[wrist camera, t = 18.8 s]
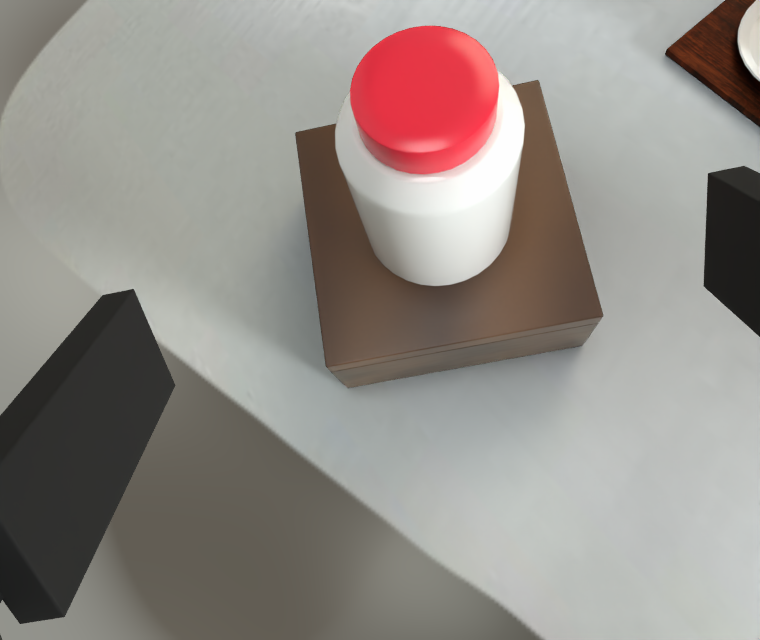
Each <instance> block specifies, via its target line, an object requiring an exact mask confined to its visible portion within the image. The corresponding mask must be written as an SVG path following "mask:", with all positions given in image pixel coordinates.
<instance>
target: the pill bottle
mask: <svg viewBox="0 0 760 640" xmlns="http://www.w3.org/2000/svg"><path fill="white" fill-rule="evenodd" d="M524 131H525V123H524V116H523V109H522V106H521V104H520V101H519V99H518V96H517V93H516V91H515V90H514V88H513V87H512V85H511V84H510V82H509V81H508V79H507V78H506V77H505V76H504V75H503V74H502V73H501V72H500V71H498V70H497V69H496V67H495V64H494V61H493V59H492V58H491V56H490V55H489V53H488V52H487V50H486V49H485V48H484V47H483V46H482V45H481V44H480V43H479V42H478V41H477V40H475V39H473V38H472V37H470V36H469V35H467V34H465V33H463V32H460V31H458V30H455V29H452V28H447V27H441V26H420V27H413V28H409V29H405V30H402V31H399V32H396V33H394V34H392V35H390V36H388V37H386V38H385V39H383V40H382V41H380V42H379V43H378V44H376V45H375V46H374V47H373V48H372V49H371V50H370V51H369V52H368V53H367V54H366V55H365V56H364V57H363V59H362V60H361V62H360V63H359V65H358V66H357V68H356V71H355V73H354V76H353V78H352V83H351V89H350V92H349V93H348V95H347V96H346V98H345V99H344V102H343V104H342V106H341V109H340V111H339V114H338V118H337V123H336V129H335V149H336V153H337V157H338V160H339V164H340V167H341V170H342V173H343V175H344V178H345V181H346V183H347V186H348V188H349V191H350V194H351V196H352V199H353V202H354V204H355V207H356V210H357V212H358V215H359V218H360V220H361V223H362V225H363V228H364V231H365V233H366V236H367V239H368V241H369V244H370V246H371V248H372V249H373V251H374V253H375V255H376V257H377V258H378V259H379V260H380V261H381V263H382V264H383V265H384V266H385V267H386V268H388V269H389V270H390V271H391V272H393V273H394V274H395V275H397V276H399V277H401V278H403V279H405V280H407V281H410V282H413V283H417V284H420V285H429V286H443V285H452V284H455V283H459V282H462V281H465V280H467V279H469V278H471V277H473V276H475V275H477V274H479V273H480V272H482V271H483V270H484V269H486V268H487V267H488V266H489V265H491V263H492V262H493V261H494V260H495V259H496V258H497V257H498V255H499V254H500V253H501V251H502V249H503V247H504V246H505V244H506V242H507V239H508V236H509V233H510V229H511V224H512V217H513V210H514V203H515V197H516V190H517V183H518V177H519V170H520V163H521V156H522V150H523V141H524Z"/></svg>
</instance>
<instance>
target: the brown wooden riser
mask: <svg viewBox="0 0 760 640" xmlns="http://www.w3.org/2000/svg"><path fill="white" fill-rule="evenodd" d="M512 87H513V88H514V90H515V91H516V93H517V96H518V99H519V101H520V104H521V106H522V109H523V116H524V123H525V131H524V141H523V150H522V156H521V163H520V170H519V177H518V183H517V190H516V197H515V203H514V210H513V217H512V224H511V229H510V233H509V236H508V239H507V242H506V244H505V246H504V247H503V249H502V251H501V253H500V254H499V255H498V257H497V258H496V259H495V260H494V261H493V262H492V263H491V265H489V266H488V267H487V268H486V269H484V270H483V271H482V272H480V273H479V274H477V275H475V276H473V277H471V278H469V279H467V280H465V281H462V282H459V283H455V284H452V285H443V286H429V285H420V284H417V283H413V282H410V281H407V280H405V279H403V278H401V277H399V276H397V275H395V274H394V273H393V272H391V271H390V270H389V269H388V268H386V267H385V266H384V265H383V264H382V263H381V261H380V260H379V259H378V258H377V257H376V255H375V253H374V251H373V249H372V248H371V246H370V244H369V241H368V239H367V236H366V233H365V231H364V228H363V225H362V223H361V220H360V218H359V215H358V212H357V210H356V207H355V204H354V202H353V199H352V196H351V194H350V191H349V188H348V186H347V183H346V181H345V178H344V175H343V173H342V170H341V167H340V164H339V160H338V157H337V153H336V149H335V129H336V124H332V125H328V126H323V127H318V128H314V129H309V130H304V131H300V132H296V133H295V136H296V144H297V151H298V159H299V166H300V174H301V182H302V189H303V197H304V204H305V212H306V220H307V227H308V235H309V242H310V250H311V258H312V265H313V273H314V280H315V288H316V296H317V303H318V311H319V318H320V326H321V334H322V341H323V349H324V356H325V364H326V367H327V368H328V369H329V370H330V371H331V372H332V373H333V374H334V375H335V376H336V377H337V378H338V379H339V380H340V381H341V382H342V383H343V384H344V385H345V386H346V387H347V388H350V387H356V386H362V385H367V384H373V383H378V382H384V381H389V380H395V379H400V378H406V377H412V376H417V375H423V374H428V373H434V372H439V371H445V370H450V369H456V368H461V367H467V366H473V365H478V364H484V363H489V362H495V361H500V360H506V359H511V358H517V357H523V356H528V355H534V354H539V353H545V352H550V351H556V350H561V349H567V348H572V347H578V346H582V345H583V344H584V343H585V341H586V340H587V338H588V337H589V336H590V334H591V333H592V331H593V330H594V329H595V327H596V326H597V324H598V322H599V321H600V320H601V318H602V317H603V313H602V309H601V306H600V302H599V298H598V295H597V291H596V287H595V284H594V280H593V276H592V273H591V269H590V265H589V262H588V258H587V255H586V251H585V247H584V244H583V240H582V236H581V233H580V229H579V225H578V222H577V218H576V214H575V211H574V207H573V203H572V200H571V196H570V193H569V189H568V185H567V182H566V178H565V174H564V171H563V167H562V163H561V160H560V156H559V152H558V149H557V145H556V141H555V138H554V134H553V130H552V127H551V123H550V120H549V116H548V112H547V109H546V105H545V101H544V98H543V94H542V90H541V87H540V83H539V81H538V80H536V81H531V82H527V83H522V84H517V85H513V86H512Z"/></svg>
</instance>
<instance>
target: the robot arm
mask: <svg viewBox="0 0 760 640" xmlns="http://www.w3.org/2000/svg"><path fill="white" fill-rule="evenodd" d="M704 287H705V288H706V289H707V290H708V291H710V292H711V293H712V294H713V295H714V296H715V297H716V298H717V299H718V300H720V301H721V302H722V303H723V304H724V305H725V306H726V307H727V308H728V309H730V310H731V311H732V312H733V313H734V314H735V315H736V316H737V317H738V318H740V319H741V320H742V321H743V322H744V323H745V324H746V325H747V326H748V327H750V328H751V329H752V330H753V331H754V332H755V333H756V334H757V335H758V336H760V173H758V172H756V171H754V170H752V169H750V168H748V167H745V166H741V167H737V168H732V169H727V170H722V171H717V172H712V173H708V187H707V214H706V240H705V266H704ZM174 387H175V384H174V381H173V379H172V377H171V374H170V372H169V370H168V368H167V365H166V363H165V360H164V358H163V356H162V354H161V351H160V349H159V347H158V344H157V342H156V340H155V337H154V335H153V333H152V330H151V328H150V326H149V323H148V321H147V319H146V317H145V314H144V312H143V310H142V307H141V305H140V303H139V300H138V298H137V296H136V293H135V291H134V289H131V290H126V291H121V292H116V293H111V294H106V295H102V297H101V298H100V299H99V300H98V301H97V302H96V304H95V305H94V306H93V307H92V308H91V310H90V311H89V312H88V313H87V314H86V315H85V317H84V318H83V319H82V320H81V321H80V322H79V324H78V325H77V326H76V327H75V328H74V330H73V331H72V332H71V333H70V334H69V335H68V337H67V338H66V339H65V340H64V341H63V343H62V344H61V345H60V346H59V347H58V348H57V350H56V351H55V352H54V353H53V354H52V355H51V357H50V358H49V359H48V360H47V361H46V363H45V364H44V365H43V366H42V367H41V368H40V370H39V371H38V372H37V373H36V374H35V376H34V377H33V378H32V379H31V380H30V381H29V383H28V384H27V385H26V386H25V387H24V388H23V390H22V391H21V392H20V393H19V394H18V396H17V397H16V398H15V399H14V400H13V402H12V403H11V404H10V405H9V406H8V408H7V409H6V410H5V411H4V412H3V413H2V414H1V415H0V603H1V601H2V600H3V601H4V602H5V604H6V605H7V607H8V608H9V609H10V611H11V612H12V613H13V615H14V616H15V618H16V619H17V620H18V622H19V623H20V624H23V623H29V622H35V621H41V620H48V619H54V618H60V617H65V615H66V613H67V610H68V608H69V607H70V605H71V602H72V600H73V598H74V596H75V594H76V592H77V590H78V588H79V586H80V583H81V582H82V579H83V577H84V575H85V573H86V571H87V569H88V567H89V565H90V563H91V561H92V559H93V556H94V554H95V552H96V550H97V548H98V546H99V544H100V542H101V540H102V538H103V536H104V533H105V531H106V529H107V527H108V525H109V523H110V521H111V519H112V516H113V515H114V512H115V510H116V508H117V506H118V504H119V502H120V500H121V498H122V496H123V494H124V492H125V489H126V487H127V485H128V483H129V481H130V479H131V477H132V475H133V472H134V470H135V469H136V466H137V464H138V462H139V460H140V458H141V456H142V454H143V452H144V450H145V447H146V446H147V443H148V441H149V439H150V437H151V435H152V433H153V431H154V429H155V427H156V425H157V423H158V420H159V418H160V416H161V414H162V412H163V410H164V408H165V406H166V404H167V402H168V400H169V397H170V395H171V393H172V391H173V389H174ZM0 640H2V638H1V635H0Z"/></svg>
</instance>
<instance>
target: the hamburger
mask: <svg viewBox="0 0 760 640" xmlns="http://www.w3.org/2000/svg"><path fill="white" fill-rule="evenodd" d="M665 54H666V55H667V56H668V57H670V58H671V59H672V60H673V61H675V62H676V63H677V64H679V65H680V66H681V67H683V68H684V69H685V70H687V71H688V72H689V73H691V74H692V75H693V76H694V77H696V78H697V79H698V80H700V81H701V82H702V83H704V84H705V85H706V86H708V87H709V88H710V89H711V90H713V91H714V92H715V93H717V94H718V95H719V96H721V97H722V98H723V99H725V100H726V101H727V102H728V103H730V104H731V105H732V106H734V107H735V108H736V109H738V110H739V111H740V112H742V113H743V114H744V115H746V116H747V117H748V118H749V119H751V120H752V121H753V122H755V123H756V124H757V125H759V126H760V0H725V1H724V2H723V3H722V4H720V5H719V6H718V7H717V8H716V9H714V10H713V11H712V12H711V13H710V14H708V15H707V16H706V17H705V18H704V19H702V20H701V21H700V22H699V23H698V24H696V25H695V26H694V27H693V28H692V29H691V30H689V31H688V32H687V33H686V34H685V35H683V36H682V37H681V38H680V39H679V40H677V41H676V42H675V43H674V44H673V45H671V46H670V47H669V48H668V49H667V50H666V53H665Z"/></svg>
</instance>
